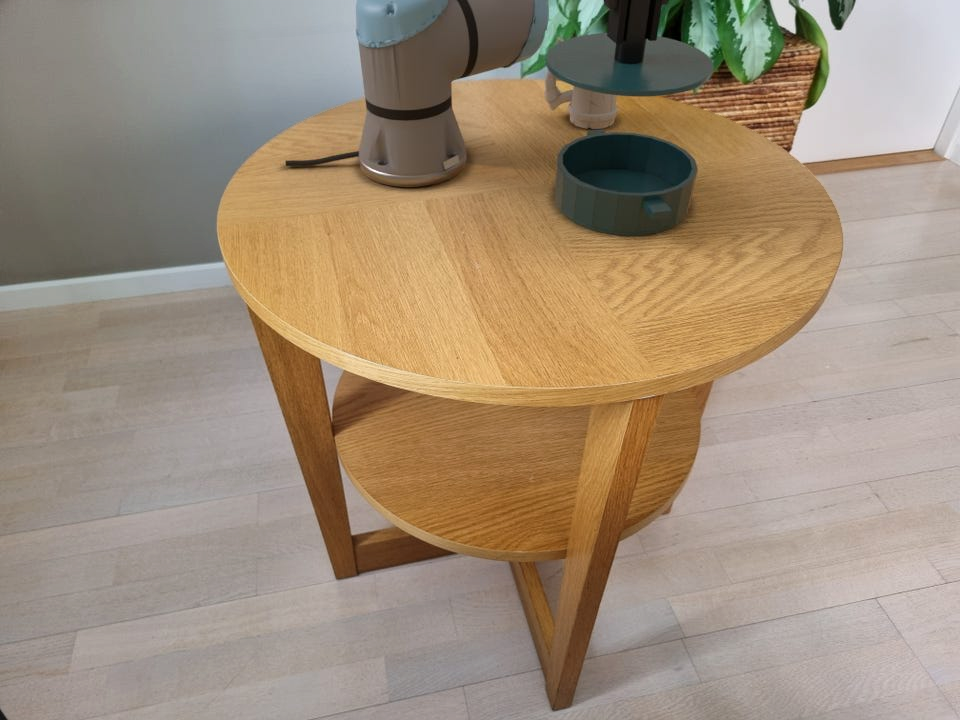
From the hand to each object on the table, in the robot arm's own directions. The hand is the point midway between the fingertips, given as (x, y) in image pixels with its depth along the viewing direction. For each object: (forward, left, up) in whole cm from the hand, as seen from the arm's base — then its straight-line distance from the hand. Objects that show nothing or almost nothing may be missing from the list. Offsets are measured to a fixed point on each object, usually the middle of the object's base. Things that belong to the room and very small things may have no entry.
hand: (631, 37), depth 76 cm
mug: (+5, +28, -21) cm, 35 cm away
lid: (0, 0, -3) cm, 3 cm away
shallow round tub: (+2, +2, -21) cm, 21 cm away
